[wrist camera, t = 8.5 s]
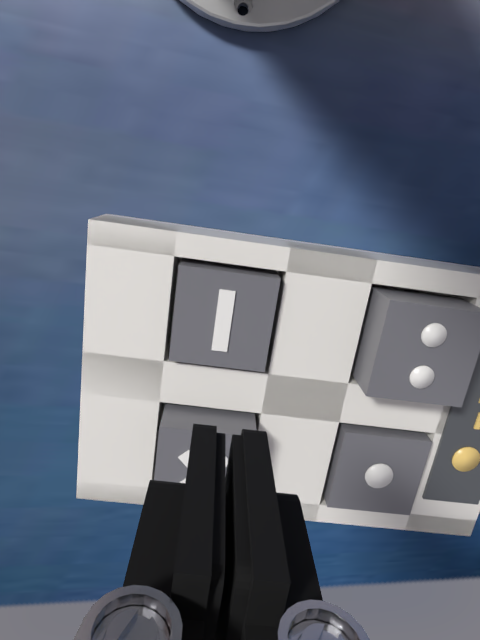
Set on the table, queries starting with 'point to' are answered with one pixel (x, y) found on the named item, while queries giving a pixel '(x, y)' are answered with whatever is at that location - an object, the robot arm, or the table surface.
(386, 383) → the pair key
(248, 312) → the bar key
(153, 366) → the keypad
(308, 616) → the robot arm
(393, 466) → the dot key
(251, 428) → the cross key
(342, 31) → the table surface
